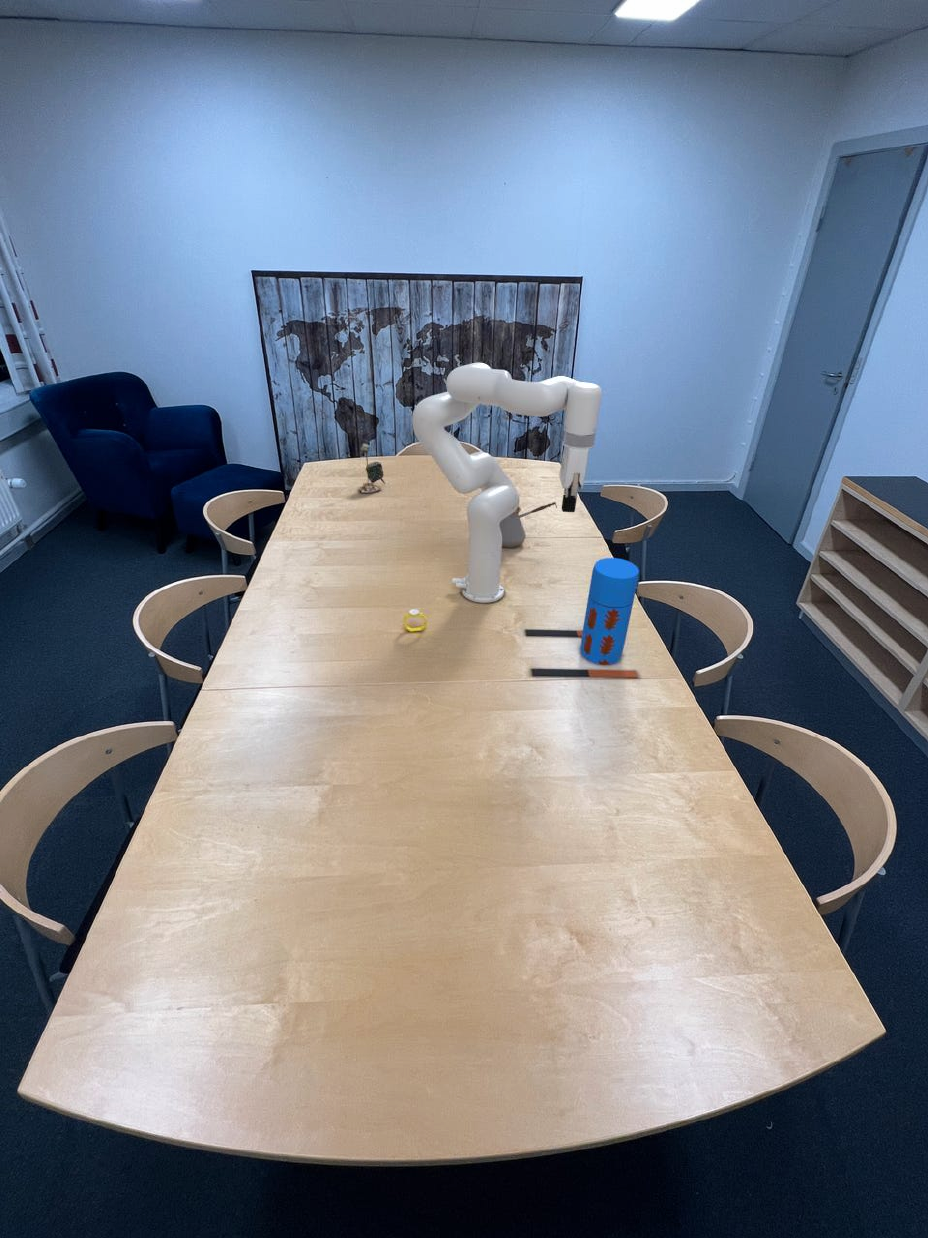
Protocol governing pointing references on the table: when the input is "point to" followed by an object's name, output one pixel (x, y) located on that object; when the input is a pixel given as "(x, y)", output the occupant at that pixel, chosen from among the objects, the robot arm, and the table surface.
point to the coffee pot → (515, 527)
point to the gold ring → (414, 613)
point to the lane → (572, 671)
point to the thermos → (608, 610)
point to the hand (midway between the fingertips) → (567, 510)
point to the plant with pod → (371, 473)
